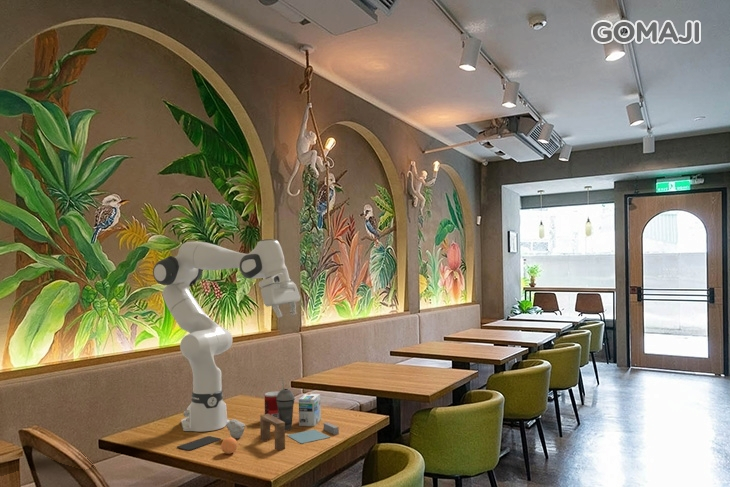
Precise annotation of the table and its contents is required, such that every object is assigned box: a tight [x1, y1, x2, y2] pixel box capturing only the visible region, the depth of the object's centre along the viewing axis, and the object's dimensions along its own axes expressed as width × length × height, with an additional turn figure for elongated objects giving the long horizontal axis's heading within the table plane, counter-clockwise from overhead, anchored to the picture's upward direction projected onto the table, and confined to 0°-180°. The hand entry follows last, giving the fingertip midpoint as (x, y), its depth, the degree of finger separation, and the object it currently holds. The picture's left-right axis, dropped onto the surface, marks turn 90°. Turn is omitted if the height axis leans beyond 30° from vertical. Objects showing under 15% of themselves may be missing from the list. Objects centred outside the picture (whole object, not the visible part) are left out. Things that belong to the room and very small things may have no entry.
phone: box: [176, 435, 222, 452], centre depth 193 cm, size 7×1×15 cm
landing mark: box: [286, 428, 331, 445], centre depth 199 cm, size 12×12×1 cm
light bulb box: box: [298, 393, 322, 427], centre depth 218 cm, size 11×7×11 cm, turn 170°
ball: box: [220, 436, 238, 455], centre depth 182 cm, size 5×5×5 cm
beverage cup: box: [276, 377, 295, 432], centre depth 209 cm, size 7×7×20 cm
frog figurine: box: [226, 418, 246, 439], centre depth 199 cm, size 6×7×7 cm
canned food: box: [264, 390, 281, 419], centre depth 223 cm, size 8×8×11 cm
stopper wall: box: [323, 422, 340, 436], centre depth 205 cm, size 8×2×2 cm, turn 34°
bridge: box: [259, 413, 286, 451], centre depth 191 cm, size 3×14×9 cm, turn 34°
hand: (287, 315), depth 197 cm, fingers open, 8 cm apart
